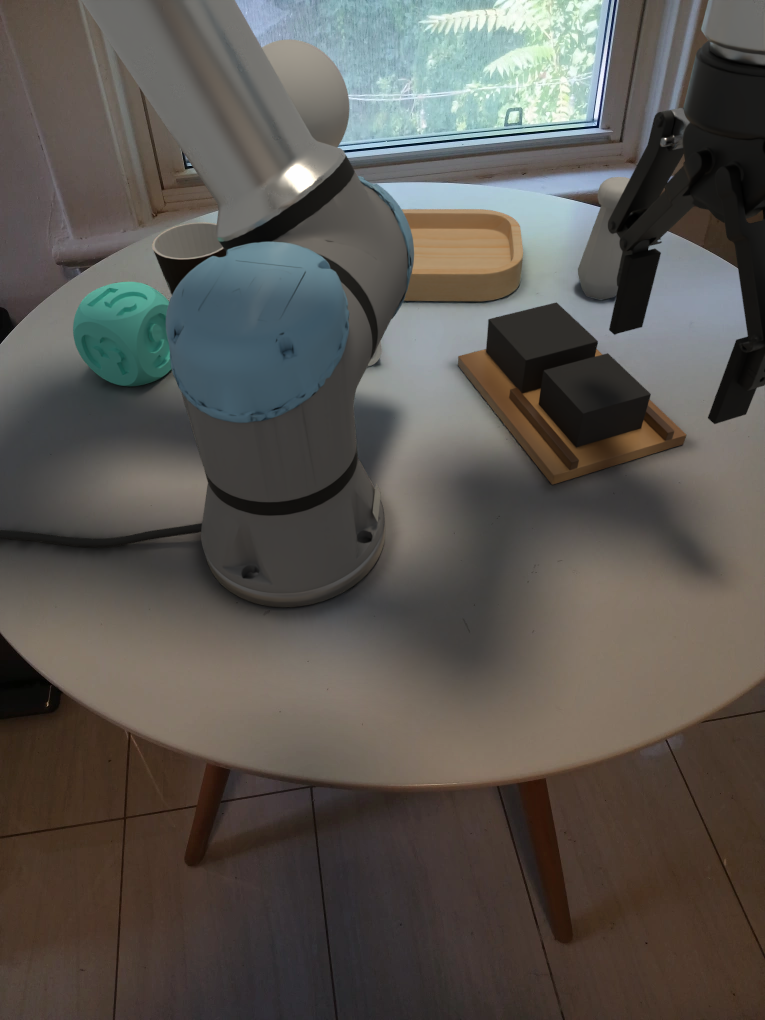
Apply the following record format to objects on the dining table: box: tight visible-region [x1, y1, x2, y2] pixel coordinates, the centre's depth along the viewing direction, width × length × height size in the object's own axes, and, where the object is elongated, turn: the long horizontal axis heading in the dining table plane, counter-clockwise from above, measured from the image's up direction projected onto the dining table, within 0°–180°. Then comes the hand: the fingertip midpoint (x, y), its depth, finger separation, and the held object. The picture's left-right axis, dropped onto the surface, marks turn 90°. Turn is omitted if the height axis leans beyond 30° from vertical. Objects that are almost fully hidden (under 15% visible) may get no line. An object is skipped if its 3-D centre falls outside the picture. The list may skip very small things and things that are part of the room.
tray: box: [457, 348, 687, 485], centre depth 73 cm, size 14×20×2 cm
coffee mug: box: [151, 221, 226, 296], centre depth 84 cm, size 12×9×10 cm
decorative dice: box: [72, 281, 172, 387], centre depth 78 cm, size 8×8×8 cm
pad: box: [485, 302, 599, 393], centre depth 75 cm, size 8×8×4 cm
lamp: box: [261, 39, 524, 302], centre depth 85 cm, size 33×17×25 cm, turn 86°
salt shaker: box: [577, 176, 630, 301], centre depth 83 cm, size 6×6×13 cm
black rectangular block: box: [539, 352, 652, 447], centre depth 68 cm, size 7×7×4 cm
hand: (672, 369), depth 56 cm, fingers open, 12 cm apart
